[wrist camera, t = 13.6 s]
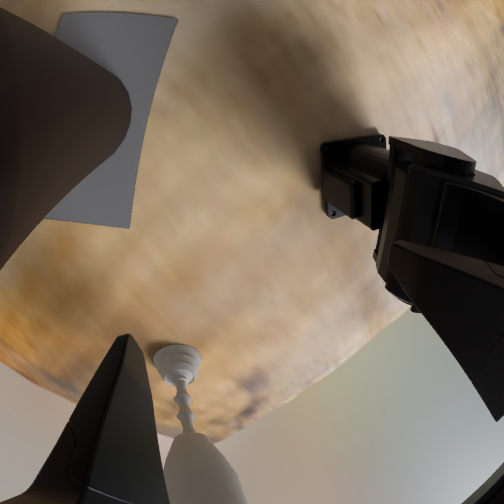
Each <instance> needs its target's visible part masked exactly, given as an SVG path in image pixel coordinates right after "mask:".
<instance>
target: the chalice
mask: <svg viewBox="0 0 504 504" xmlns="http://www.w3.org/2000/svg"><path fill="white" fill-rule="evenodd" d="M201 361H202V359H201V355H200V353H199V352H198V351H197V350H196V349H194V348H193V347H190V346H187V345H181V344H174V345H168V346H165V347H163V348H161V349H160V350H158V351H157V352H156V353H155V355H154V357H153V363H154V366H155V367H156V368H157V370H158V372H159V373H160V375H161V377H162V379H163V380H164V381H165V382H167V383H168V384H170V385H173V386H176V388H177V395H176V396H175V397H174V402H176V403H177V404H178V405H179V407H180V410H179V413H178V415H177V418H178V419H179V420H180V421H181V423H182V426H183V434H180V435H178V436H176V437H175V438H174V441H173V443H172V445H171V448H170V451H169V453H168V456H167V458H166V461H165V466H164V470H163V473H164V478H165V483H166V488H167V492H168V497H169V501H170V504H247V501H246V498H245V496H244V493H243V490H242V487H241V484H240V481H239V478H238V475H237V473H236V471H235V470H234V469H233V467H232V466H231V465H230V463H229V462H228V461H227V459H226V458H225V457H224V456H223V454H222V453H221V452H220V451H219V450H218V449H217V448H216V447H215V446H214V444H213V443H212V442H211V441H210V440H209V439H208V438H207V437H206V436H205V435H204V434H201V433H195V430H194V428H193V419H194V417H195V414H193V413H192V412H191V410H190V408H189V405H190V402H191V401H192V397H191V396H190V395H188V393H187V391H186V385H188V384H190V383H191V382H192V381H193V380H194V379H195V378H196V377H197V374H198V370H199V366H200V364H201Z"/></svg>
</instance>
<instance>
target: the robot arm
mask: <svg viewBox="0 0 504 504" xmlns="http://www.w3.org/2000/svg"><path fill="white" fill-rule="evenodd" d="M380 138H381V141H380ZM389 145H390V150H387V149H386V138H385V136H384V135H382V134H374V135H366V136H359V137H352V138H346V139H339V140H333V141H328V142H324V143H322V144H321V146H320V153H321V162H322V170H321V178H322V189H323V199H324V201H325V204H326V214H327V216H328V217H329V218H331V219H335V218H338V217H341V216H345V215H347V216H348V217H350V218H351V219H357V220H358V221H360V222H361V223H363V224H364V225H366V226H367V227H369V228H370V229H372V230H377V229H379V234H378V240H377V245H376V249H374V253H373V258H374V260H375V262H376V267H377V271H378V274H379V275H380V276H381V278H382V279H383V280H384V282H385V283H386V285H385V288H386V289H387V290H388V292H390V293H391V294H393V295H394V296H395V297H397V298H398V299H399V300H401V301H402V302H404V303H407V304H409V305H412V306H411V311H412V312H415V313H422V314H423V316H424V317H425V318H426V319H427V321H428V322H429V323H430V325H431V326H432V327H433V329H434V330H435V331H436V333H437V334H438V335H439V337H440V338H441V339H442V341H443V342H444V343H445V345H446V346H447V347H448V349H449V350H450V352H451V353H452V354H453V356H454V357H455V358H456V360H457V361H458V363H459V364H460V366H461V367H462V369H463V370H464V372H465V373H466V374H467V376H468V378H469V379H470V381H472V384H473V385H474V387H475V389H476V390H477V392H478V393H479V395H480V396H481V398H482V400H483V401H484V403H485V405H486V406H487V408H488V409H489V411H490V413H491V415H492V416H493V418H494V419H495V421H496V422H497V421H498V420H500V419H501V418H502V417H503V416H504V187H503V186H502V185H501V184H500V182H499V181H498V180H497V179H496V178H495V177H493V176H491V175H488V174H486V173H483V172H480V171H478V170H475V166H476V161H475V160H474V159H472V158H471V157H469V156H468V155H466V154H465V153H463V152H462V151H460V150H458V149H456V148H453V147H449V146H446V145H442V144H439V143H435V142H430V141H424V140H417V139H410V138H401V137H393V136H389ZM326 146H328V150H327V151H326V150H325V148H326ZM332 211H334V213H333V214H331V212H332ZM0 504H170V501H169V497H168V492H167V488H166V483H165V478H164V473H163V468H162V463H161V457H160V451H159V445H158V438H157V431H156V424H155V416H154V407H153V400H152V394H151V389H150V384H149V380H148V375H147V370H146V364H145V359H144V355H143V352H142V350H141V348H140V347H139V345H138V344H137V342H136V341H135V340H134V338H133V336H132V335H131V334H128V333H127V334H124V335H120V336H118V337H117V338H116V340H115V341H114V343H113V344H112V346H111V348H110V349H109V351H108V353H107V354H106V356H105V357H104V359H103V361H102V362H101V364H100V366H99V367H98V369H97V371H96V372H95V374H94V376H93V378H92V379H91V381H90V383H89V384H88V386H87V388H86V390H85V391H84V393H83V395H82V397H81V399H80V400H79V402H78V404H77V406H76V408H75V409H74V411H73V413H72V415H71V417H70V419H69V422H67V424H66V426H65V428H64V430H63V432H62V434H61V436H60V437H59V439H58V441H57V443H56V445H55V446H54V448H53V450H52V452H51V453H50V455H49V457H48V458H47V460H46V461H45V463H44V465H43V466H42V468H41V470H40V471H39V473H38V475H37V477H36V478H35V480H34V482H33V483H32V485H31V486H30V487H29V488H28V489H27V490H26V491H25V492H23V493H22V494H20V495H18V496H15V497H13V498H11V499H8V500H5V501H3V502H0ZM462 504H504V463H503V464H502V465H501V466H500V467H499V468H498V469H497V470H496V471H495V472H494V473H493V475H492V476H491V477H490V478H489V479H488V480H487V481H486V482H485V483H484V484H483V485H482V486H480V487H479V488H478V489H477V490H476V491H475V492H474V493H473V494H472V495H471V496H470V497H469V498H467V499H466V500H465V501H464V502H463V503H462Z"/></svg>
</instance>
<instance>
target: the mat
mask: <svg viewBox="0 0 504 504" xmlns="http://www.w3.org/2000/svg"><path fill="white" fill-rule="evenodd" d="M177 21H178V19H174V18H167V17H160V16H152V15H142V14H130V13H108V12H88V13H66V14H63V15H62V18H61V20H60V23H59V26H58V28H57V31H56V34H55V38H57V39H59V40H60V41H62V42H64V43H65V44H67V45H69V46H70V47H72V48H74V49H75V50H77V51H78V52H80V53H82V54H83V55H85V56H86V57H88V58H89V59H91V60H93V61H94V62H96V63H97V64H99V65H100V66H102V67H103V68H105V69H106V70H108V71H109V72H111V73H112V74H113V75H115V76H116V77H117V78H119V79H120V80H121V81H122V83H123V84H124V86H125V88H126V89H127V91H128V92H129V97H130V101H131V106H132V112H131V123H130V126H129V129H128V131H127V134H126V137H125V139H124V141H123V142H122V143H121V145H120V146H119V147H118V149H117V150H116V151H115V153H114V154H113V155H111V156H110V157H109V158H108V159H106V160H105V161H104V162H103V163H102V164H100V165H99V166H98V167H97V168H96V169H95V170H93V171H92V172H91V173H90V174H89V175H88V176H87V177H85V178H84V179H83V180H82V181H81V182H80V183H79V184H78V185H77V186H76V187H75V188H73V189H72V190H71V191H70V192H69V193H68V194H67V195H66V196H65V197H64V198H63V199H62V200H61V201H60V202H59V203H58V204H57V205H56V206H55V207H54V208H53V209H52V210H51V211H50V212H49V213H48V214H47V215H46V216H45V217H44V219H50V220H59V221H68V222H77V223H85V224H94V225H102V226H111V227H119V228H127V229H129V228H130V222H131V213H132V205H133V197H134V190H135V183H136V177H137V171H138V165H139V159H140V154H141V149H142V144H143V139H144V134H145V129H146V125H147V121H148V116H149V112H150V108H151V104H152V100H153V96H154V92H155V89H156V85H157V82H158V78H159V75H160V71H161V68H162V65H163V62H164V58H165V55H166V52H167V49H168V46H169V43H170V40H171V38H172V35H173V32H174V29H175V27H176V24H177Z"/></svg>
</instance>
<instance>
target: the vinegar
mask: <svg viewBox="0 0 504 504" xmlns="http://www.w3.org/2000/svg"><path fill="white" fill-rule="evenodd" d="M131 112H132V106H131V101H130V97H129V92H128V91H127V89H126V88H125V86H124V84H123V83H122V81H121V80H120V79H119V78H117V77H116V76H115V75H113V74H112V73H111V72H109V71H108V70H106V69H105V68H103V67H102V66H100V65H99V64H97V63H96V62H94V61H93V60H91V59H89V58H88V57H86V56H85V55H83V54H82V53H80V52H78V51H77V50H75V49H74V48H72V47H70V46H69V45H67V44H65V43H64V42H62V41H60V40H59V39H57V38H55V37H54V36H52V35H50V34H49V33H47V32H45V31H43V30H42V29H40V28H38V27H36V26H35V25H33V24H31V23H29V22H27V21H25V20H24V19H22V18H20V17H18V16H16V15H14V14H12V13H10V12H8V11H6V10H4V9H2V8H0V270H1V269H2V267H3V266H4V265H5V263H6V262H7V261H8V260H9V258H10V257H11V256H12V254H13V253H14V252H15V251H16V249H17V248H18V247H19V246H20V245H21V243H22V242H23V241H24V240H25V239H26V238H27V236H28V235H29V234H30V233H31V232H32V231H33V230H34V228H35V227H36V226H37V225H38V224H39V223H40V222H41V221H42V220H43V219H44V217H45V216H46V215H47V214H48V213H49V212H50V211H51V210H52V209H53V208H54V207H55V206H56V205H57V204H58V203H59V202H60V201H61V200H62V199H63V198H64V197H65V196H66V195H67V194H68V193H69V192H70V191H71V190H72V189H73V188H75V187H76V186H77V185H78V184H79V183H80V182H81V181H82V180H83V179H84V178H85V177H87V176H88V175H89V174H90V173H91V172H92V171H93V170H95V169H96V168H97V167H98V166H99V165H100V164H102V163H103V162H104V161H105V160H106V159H108V158H109V157H110V156H111V155H113V154H114V153H115V151H116V150H117V149H118V147H119V146H120V145H121V143H122V142H123V141H124V139H125V137H126V134H127V131H128V129H129V126H130V123H131Z"/></svg>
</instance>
